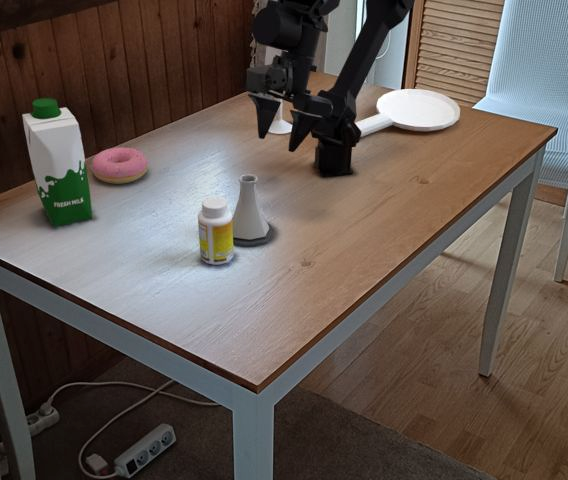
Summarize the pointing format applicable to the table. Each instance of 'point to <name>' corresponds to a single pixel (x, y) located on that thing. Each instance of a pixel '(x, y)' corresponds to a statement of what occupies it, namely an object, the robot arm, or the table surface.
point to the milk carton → (58, 162)
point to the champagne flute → (278, 124)
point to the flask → (249, 211)
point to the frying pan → (411, 111)
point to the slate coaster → (255, 241)
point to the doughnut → (119, 165)
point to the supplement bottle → (215, 231)
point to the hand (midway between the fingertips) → (275, 145)
